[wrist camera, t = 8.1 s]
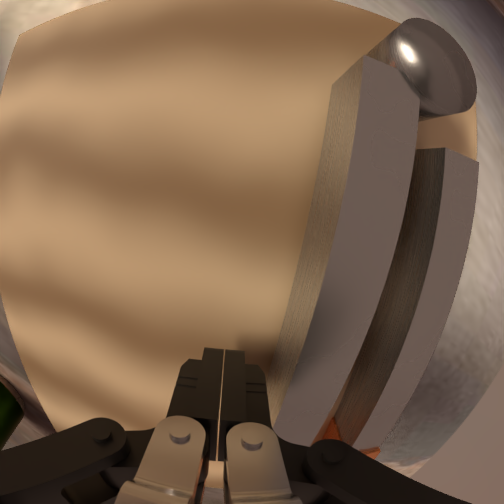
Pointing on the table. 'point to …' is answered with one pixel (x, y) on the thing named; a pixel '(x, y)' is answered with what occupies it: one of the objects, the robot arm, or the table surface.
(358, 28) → the cutting board
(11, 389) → the beer can
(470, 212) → the tong fixed arm
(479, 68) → the table surface
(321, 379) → the tong free arm
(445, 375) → the table surface
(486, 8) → the table surface
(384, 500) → the robot arm
